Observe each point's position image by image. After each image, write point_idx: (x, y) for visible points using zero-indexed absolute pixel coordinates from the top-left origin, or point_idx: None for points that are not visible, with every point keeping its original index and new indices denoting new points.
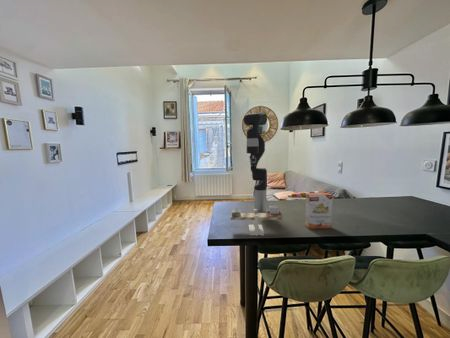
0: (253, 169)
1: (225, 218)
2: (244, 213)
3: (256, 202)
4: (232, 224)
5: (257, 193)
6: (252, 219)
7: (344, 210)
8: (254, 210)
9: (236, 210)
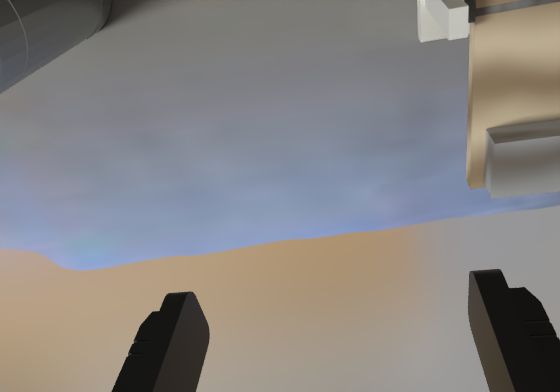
0: (539, 336)
1: (284, 194)
2: (488, 99)
3: (69, 40)
4: (381, 141)
5: (21, 58)
6: None
7: None
8: (466, 26)
9: (523, 166)
